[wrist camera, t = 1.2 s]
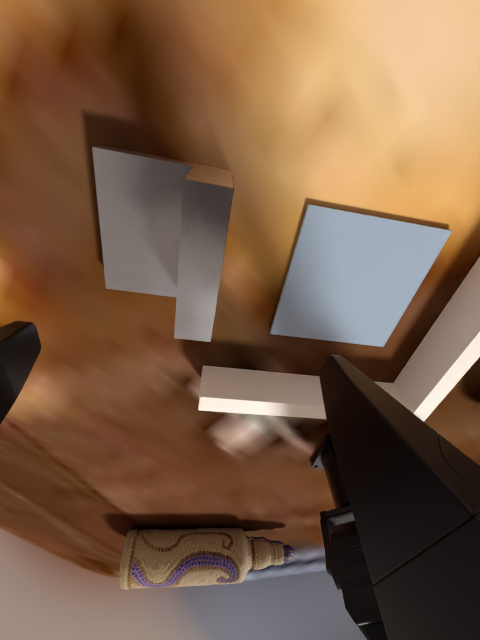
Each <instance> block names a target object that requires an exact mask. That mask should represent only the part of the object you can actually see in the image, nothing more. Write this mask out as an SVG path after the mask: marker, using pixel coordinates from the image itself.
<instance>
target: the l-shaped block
mask: <svg viewBox="0 0 480 640" xmlns="http://www.w3.org/2000/svg"><path fill="white" fill-rule="evenodd" d="M479 357H480V257H479V258H478V260H477V261H476V263H475V264H474V266H473V267H472V268H471V270H470V271H469V273H468V274H467V276H466V277H465V279H464V280H463V282H462V283H461V285H460V286H459V288H458V289H457V290H456V292H455V293H454V295H453V296H452V298H451V299H450V301H449V302H448V304H447V305H446V307H445V308H444V309H443V311H442V312H441V314H440V315H439V317H438V318H437V320H436V321H435V323H434V324H433V326H432V327H431V328H430V330H429V331H428V333H427V334H426V336H425V337H424V339H423V340H422V342H421V343H420V345H419V346H418V347H417V349H416V350H415V352H414V353H413V355H412V356H411V358H410V359H409V361H408V362H407V364H406V365H405V366H404V368H403V369H402V371H401V372H400V374H399V375H398V377H397V378H396V380H395V381H394V383H386V382H375V381H374V382H375V383H376V384H377V385H379V386H380V387H381V388H382V389H384V390H385V391H386V392H387V393H389V394H390V395H391V396H392V397H394V398H395V399H396V400H397V401H399V402H400V403H401V404H402V405H404V406H405V407H406V408H407V409H408V410H410V411H411V412H412V413H413V414H415V415H416V416H417V417H418V418H420V419H421V420H422V421H423V422H424V421H425V420H426V418H427V417H428V416H429V415H430V414H431V413H432V412H433V410H434V409H435V408H436V407H437V406H438V405H439V403H440V402H441V401H442V400H443V399H444V398H445V397H446V395H447V394H448V393H449V392H450V391H451V390H452V388H453V387H454V386H455V385H456V384H457V383H458V381H459V380H460V379H461V378H462V377H463V376H464V375H465V373H466V372H467V371H468V370H469V369H470V368H471V366H472V365H473V364H474V363H475V362H476V361H477V359H478V358H479ZM198 410H203V411H217V412H231V413H245V414H259V415H274V416H288V417H302V418H316V419H326V414H325V409H324V403H323V397H322V391H321V385H320V376H311V375H300V374H290V373H279V372H268V371H258V370H247V369H236V368H226V367H215V366H204V365H203V368H202V376H201V385H200V397H199V409H198Z"/></svg>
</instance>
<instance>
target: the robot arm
mask: <svg viewBox="0 0 480 640" xmlns="http://www.w3.org/2000/svg"><path fill="white" fill-rule="evenodd" d="M40 350H41V343H40V339H39V336H38V332H37V328H36V326H35V324H34V323H32V322H24V321H15V322H13V323H10V324H7V325H5V326H2V327H0V424H1V423H2V421H3V419H4V418H5V416H6V415H7V413H8V412H9V410H10V409H11V407H12V405H13V404H14V402H15V401H16V399H17V397H18V395H19V393H20V392H21V390H22V388H23V386H24V384H25V382H26V380H27V378H28V376H29V374H30V372H31V370H32V367H33V365H34V363H35V361H36V359H37V357H38V355H39V353H40ZM320 385H321V391H322V397H323V403H324V409H325V414H326V420H327V424H328V428H329V431H330V435H328V436H327V437H326V439H325V441H324V442H323V444H322V446H321V447H320V449H319V451H318V453H317V454H316V456H315V458H314V459H313V461H312V463H311V465H312V468H313V469H324V470H325V473H326V477H327V480H328V483H329V487H330V490H331V493H332V497H333V500H334V503H335V507H336V509H333V510H330V511H322V512H320V515H321V520H320V522H321V528H322V535H323V541H324V547H325V558H326V569H327V572H328V574H329V575H330V576H331V577H333V579H334V582H335V584H336V586H337V589H338V590H339V592H340V594H341V595H343V598H344V603H345V607H346V610H347V611H348V613H349V614H350V616H351V617H352V619H353V621H354V622H355V623H356V624H357V626H358V627H359V629H360V630H361V631H362V633H363V634H364V636H365V637H366V638H367V640H480V466H479V465H478V464H477V463H475V462H474V461H473V460H471V459H470V458H469V457H467V456H466V455H465V454H464V453H462V452H461V451H460V450H459V449H457V448H456V447H455V446H453V445H452V444H451V443H450V442H448V441H447V440H446V439H445V438H443V437H442V436H441V435H439V434H437V432H436V431H435V430H433V429H432V428H431V427H430V426H428V425H427V424H426V423H425V422H423V421H422V420H421V419H420V418H418V417H417V416H416V415H415V414H413V413H412V412H411V411H410V410H408V409H407V408H406V407H405V406H404V405H402V404H401V403H400V402H399V401H397V400H396V399H395V398H394V397H392V396H391V395H390V394H389V393H387V392H386V391H385V390H384V389H382V388H381V387H380V386H379V385H377V384H376V383H375V382H374V381H372V380H371V379H370V378H369V377H367V376H366V375H365V374H364V373H362V372H361V371H360V370H359V369H357V368H356V367H355V366H354V365H352V364H351V363H350V362H349V361H347V360H346V359H345V358H344V357H342V356H339V355H329V356H328V357H327V359H326V361H325V363H324V365H323V367H322V369H321V372H320Z"/></svg>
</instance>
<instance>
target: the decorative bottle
mask: <svg viewBox="0 0 480 640" xmlns="http://www.w3.org/2000/svg"><path fill="white" fill-rule="evenodd" d="M247 538H248V539H250V538H252V540H248V539H247ZM250 538H249V537H248V536H247V535H245V533H244V531H243V529H240V528H200V529H168V530H158V529H147V530H144V529H143V530H137V529H131V530H130V531H129V532H128V533H127V536H126V539H125V542H124V546H123V551H122V557H121V565H120V587H121V588H122V589H124V590H127V589H129V588H150V587H185V586H197V585H211V584H233V583H240V582H243V580H244V578H245V576H246V573H247V572H248V570H250V569H251V568H252V569H255V570H256V569H263V568H265V567H267V566H268V565H280V564H283V562H284V561H285V562H287V561H291V559H293V556H294V555H295V554H294V549H293V547H292V546H289V545H284V546H283V544H284V543H282V542H280V541H271V540H267V539H266V538H264V537H250Z"/></svg>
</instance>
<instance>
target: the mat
mask: <svg viewBox="0 0 480 640" xmlns="http://www.w3.org/2000/svg"><path fill="white" fill-rule="evenodd" d="M451 232H452V231H451V230H448V229H442V228H437V227H432V226H426V225H421V224H415V223H410V222H404V221H399V220H394V219H388V218H383V217H377V216H372V215H367V214H361V213H356V212H350V211H345V210H339V209H334V208H329V207H323V206H318V205H312V204H307V207H306V211H305V214H304V218H303V221H302V224H301V228H300V231H299V235H298V238H297V241H296V245H295V248H294V252H293V255H292V258H291V262H290V265H289V269H288V272H287V275H286V279H285V282H284V286H283V289H282V292H281V296H280V299H279V303H278V306H277V309H276V313H275V316H274V320H273V323H272V326H271V330H270V334H275V335H284V336H292V337H301V338H310V339H319V340H328V341H337V342H345V343H354V344H363V345H372V346H381V347H383V346H384V345H385V343H386V341H387V340H388V338H389V336H390V335H391V333H392V331H393V330H394V328H395V326H396V325H397V323H398V321H399V320H400V318H401V316H402V315H403V313H404V311H405V309H406V308H407V306H408V304H409V303H410V301H411V299H412V298H413V296H414V294H415V293H416V291H417V289H418V288H419V286H420V284H421V283H422V281H423V279H424V278H425V276H426V274H427V273H428V271H429V269H430V267H431V266H432V264H433V262H434V261H435V259H436V257H437V256H438V254H439V252H440V251H441V249H442V247H443V246H444V244H445V242H446V241H447V239H448V237H449V236H450V234H451Z"/></svg>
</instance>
